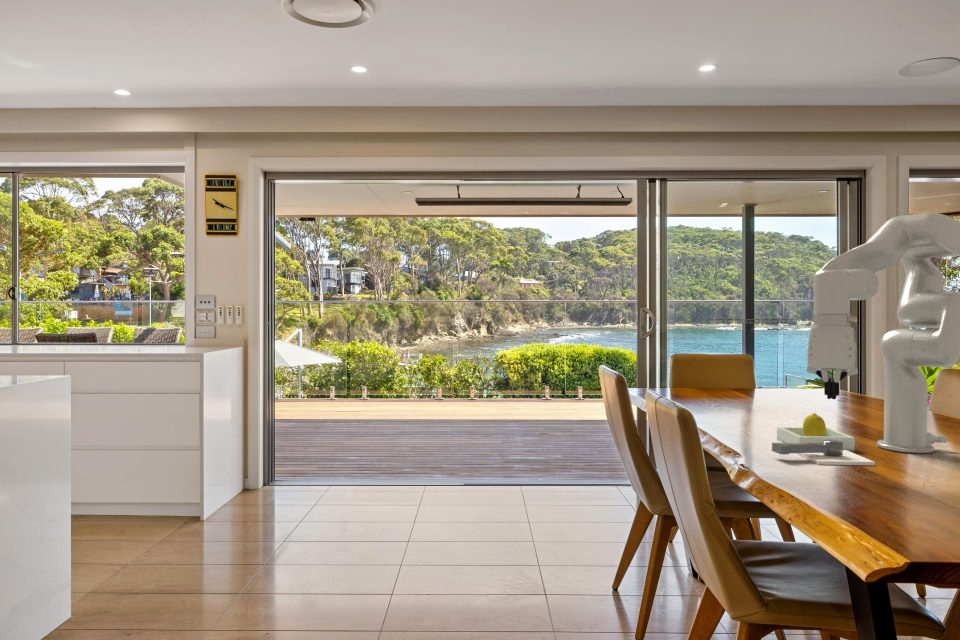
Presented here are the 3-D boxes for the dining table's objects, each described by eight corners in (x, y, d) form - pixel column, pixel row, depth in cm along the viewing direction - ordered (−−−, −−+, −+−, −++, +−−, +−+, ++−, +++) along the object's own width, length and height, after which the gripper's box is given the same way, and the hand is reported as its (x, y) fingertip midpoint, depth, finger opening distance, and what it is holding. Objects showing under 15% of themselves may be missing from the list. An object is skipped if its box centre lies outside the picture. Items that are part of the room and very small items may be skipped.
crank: (835, 451, 158) (835, 439, 158) (846, 455, 154) (847, 443, 154) (771, 452, 157) (771, 440, 156) (781, 456, 152) (781, 444, 152)
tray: (827, 440, 178) (828, 427, 178) (854, 451, 164) (854, 437, 164) (776, 439, 179) (777, 427, 179) (799, 450, 165) (799, 436, 165)
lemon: (820, 441, 174) (820, 411, 174) (829, 445, 168) (829, 415, 168) (799, 440, 175) (799, 411, 175) (807, 444, 169) (807, 414, 169)
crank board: (845, 453, 162) (845, 449, 162) (874, 465, 149) (874, 461, 149) (793, 452, 163) (793, 448, 163) (817, 464, 150) (817, 460, 150)
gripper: (869, 321, 150) (869, 398, 150) (799, 321, 158) (800, 394, 159) (866, 322, 144) (866, 403, 144) (794, 322, 152) (794, 398, 153)
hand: (831, 398), depth 151 cm, fingers closed
